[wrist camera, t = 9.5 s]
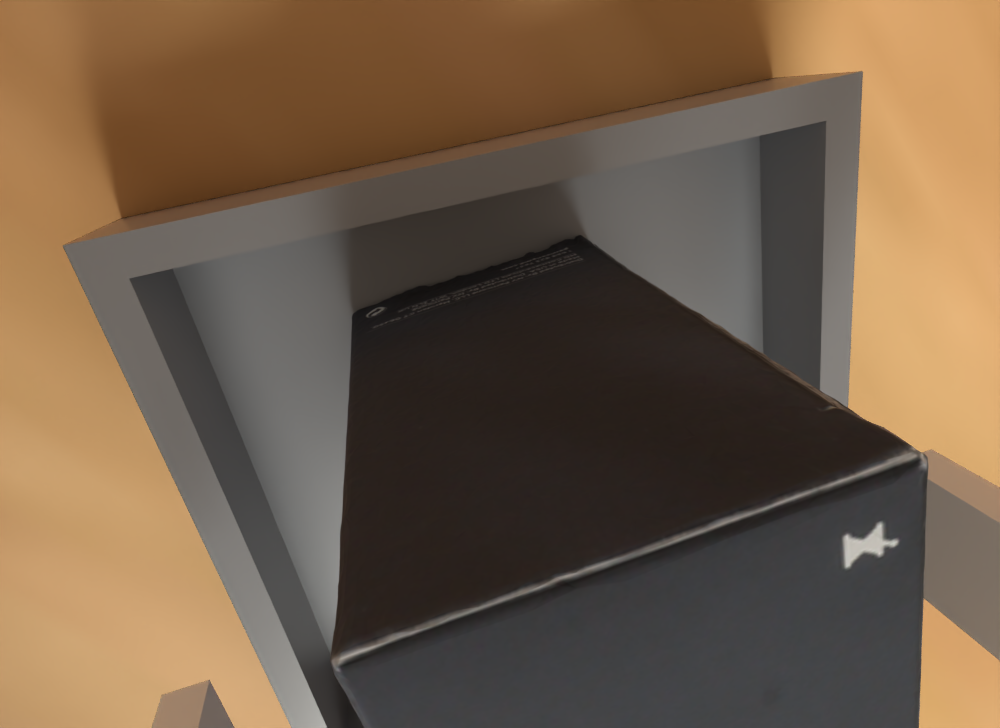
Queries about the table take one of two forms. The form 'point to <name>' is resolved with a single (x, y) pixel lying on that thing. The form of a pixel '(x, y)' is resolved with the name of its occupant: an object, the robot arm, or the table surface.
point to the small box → (614, 518)
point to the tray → (435, 259)
